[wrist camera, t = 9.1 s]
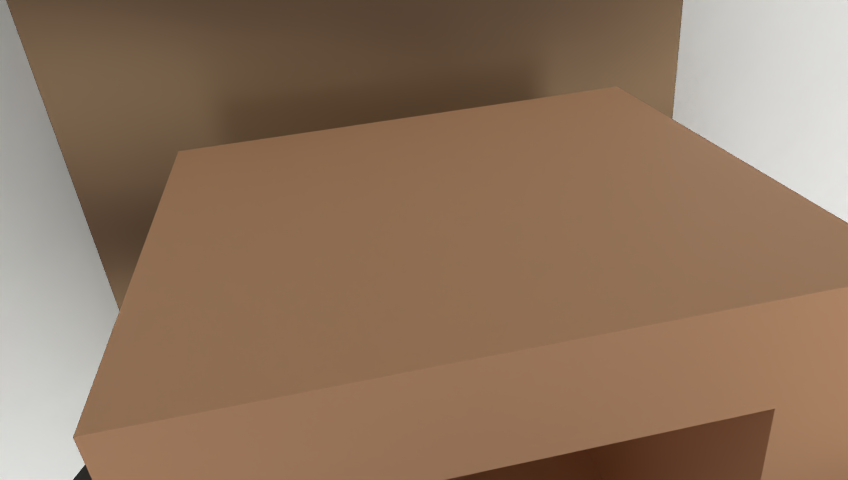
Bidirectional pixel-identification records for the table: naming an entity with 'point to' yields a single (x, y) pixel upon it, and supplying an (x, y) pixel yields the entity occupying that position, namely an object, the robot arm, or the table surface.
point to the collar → (479, 308)
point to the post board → (303, 77)
